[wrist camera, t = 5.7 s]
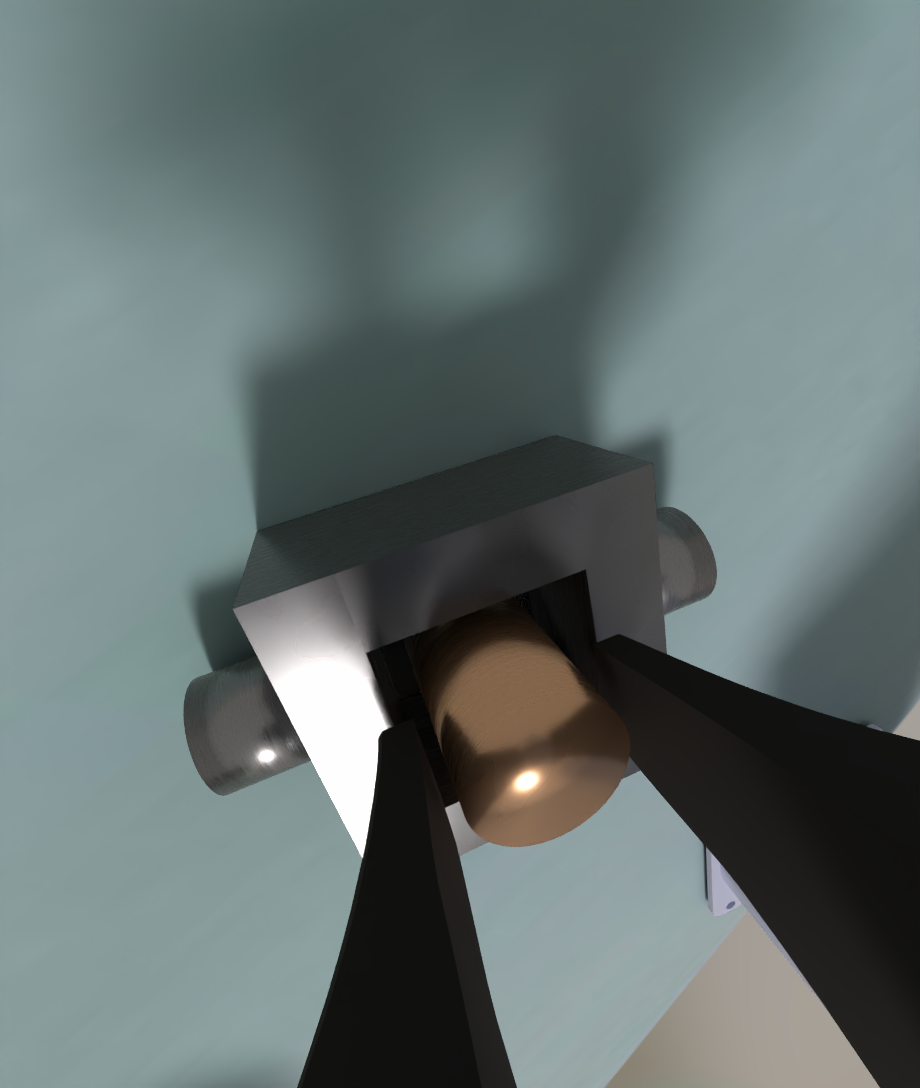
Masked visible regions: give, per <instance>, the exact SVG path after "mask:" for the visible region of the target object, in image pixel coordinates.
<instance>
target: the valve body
mask: <svg viewBox="0 0 920 1088" xmlns="http://www.w3.org/2000/svg"><path fill="white" fill-rule="evenodd" d="M716 578H717V570H716V562H715V558H714V554H713V551H712V549H711V546H710V544H709V542H708V540H707V538H706V536H705V535H704V533H703V532H702V530H701V529H700V527H699V526H698V525H697V524H696V523H695V522H694V521H693V520H692V519H691V518H690V517H689V516H688V515H687V514H685V513H684V512H682V511H680V510H678V509H676V508H673V507H662V508H659V509H656V498H655V484H654V470H653V463H649V462H646V461H643V460H639V459H636V458H632V457H629V456H626V455H622V454H619V453H615V452H612V451H608V450H605V449H602V448H598V447H595V446H591V445H588V444H584V443H581V442H578V441H574V440H571V439H567V438H564V437H561V436H557V435H555V436H552V437H549V438H546V439H543V440H540V441H537V442H534V443H531V444H527V445H524V446H521V447H518V448H515V449H512V450H509V451H506V452H503V453H499V454H496V455H493V456H490V457H487V458H484V459H481V460H478V461H475V462H472V463H468V464H465V465H462V466H459V467H456V468H453V469H450V470H447V471H444V472H440V473H437V474H434V475H431V476H428V477H425V478H422V479H419V480H416V481H412V482H409V483H406V484H403V485H400V486H397V487H394V488H391V489H388V490H384V491H381V492H378V493H375V494H372V495H369V496H366V497H363V498H360V499H357V500H353V501H350V502H347V503H344V504H341V505H338V506H335V507H332V508H329V509H325V510H322V511H319V512H316V513H313V514H310V515H307V516H304V517H301V518H297V519H294V520H291V521H288V522H285V523H282V524H279V525H276V526H273V527H270V528H266V529H263V530H260V531H257V533H256V536H255V539H254V542H253V545H252V549H251V552H250V555H249V558H248V562H247V565H246V568H245V571H244V574H243V578H242V581H241V584H240V587H239V591H238V594H237V597H236V600H235V604H234V607H233V611H234V613H235V614H236V616H237V618H238V620H239V622H240V624H241V626H242V628H243V630H244V632H245V634H246V636H247V637H248V639H249V641H250V643H251V645H252V647H253V649H254V651H255V653H256V655H257V656H255V657H252V658H249V659H246V660H244V661H241V662H238V663H235V664H233V665H230V666H227V667H225V668H222V669H219V670H216V671H214V672H211V673H208V674H205V675H203V676H200V677H197V678H195V679H194V680H193V681H192V682H191V683H190V684H189V686H188V688H187V691H186V695H185V700H184V726H185V734H186V739H187V743H188V747H189V751H190V753H191V756H192V759H193V762H194V764H195V767H196V769H197V771H198V773H199V774H200V776H201V778H202V779H203V781H204V782H205V783H206V785H207V786H208V787H209V788H210V789H211V790H212V791H213V792H215V793H216V794H218V795H222V796H224V795H228V794H231V793H233V792H236V791H238V790H240V789H243V788H245V787H248V786H250V785H253V784H255V783H257V782H260V781H262V780H265V779H267V778H270V777H272V776H274V775H277V774H279V773H282V772H284V771H287V770H289V769H291V768H294V767H296V766H299V765H301V764H304V763H306V762H308V761H311V760H312V762H313V764H314V766H315V768H316V770H317V772H318V773H319V775H320V777H321V779H322V781H323V783H324V785H325V787H326V789H327V791H328V793H329V795H330V796H331V798H332V800H333V802H334V804H335V806H336V808H337V810H338V812H339V814H340V816H341V818H342V819H343V821H344V823H345V825H346V827H347V829H348V831H349V833H350V835H351V837H352V839H353V841H354V842H355V844H356V846H357V848H358V850H359V852H360V854H361V856H362V858H363V854H364V849H365V844H366V838H367V832H368V826H369V820H370V814H371V808H372V802H373V795H374V787H375V779H376V770H377V757H378V737H379V735H380V734H381V732H382V731H383V730H386V729H388V728H391V727H393V726H395V725H398V724H400V723H403V722H405V721H408V720H410V719H413V722H414V724H415V727H416V730H417V732H418V735H419V738H420V740H421V743H422V746H423V748H424V751H425V753H426V756H427V759H428V761H429V764H430V767H431V769H432V772H433V775H434V777H435V780H436V783H437V785H438V788H439V791H440V794H441V797H442V800H443V803H444V806H445V809H446V812H447V816H448V819H449V822H450V825H451V828H452V831H453V834H454V838H455V841H456V844H457V848H458V853H459V856H460V855H462V854H464V853H466V852H468V851H471V850H473V849H475V848H477V847H479V846H481V845H483V844H485V843H488V842H489V841H486V840H484V839H483V838H481V837H480V836H478V835H477V834H476V833H475V832H474V831H473V830H472V829H471V828H470V826H469V825H468V823H467V821H466V819H465V817H464V814H463V811H462V808H461V805H460V802H459V800H458V797H457V794H456V791H455V788H454V785H453V782H452V779H451V777H450V774H449V771H448V768H447V765H446V762H445V759H444V756H443V754H442V751H441V748H440V745H439V742H438V739H437V736H436V733H435V731H434V728H433V725H432V722H431V719H430V716H429V713H428V710H427V707H426V705H425V702H424V699H423V696H422V693H418V694H416V695H413V696H411V697H408V698H406V699H403V700H401V701H400V700H399V697H398V695H397V692H396V689H395V687H394V684H393V682H392V679H391V676H390V674H389V671H388V669H387V666H386V663H385V661H384V658H383V656H382V653H381V650H380V647H382V646H385V645H388V644H390V643H393V642H396V641H398V640H401V639H404V638H406V637H409V636H411V635H414V634H417V633H419V632H422V631H425V630H427V629H430V628H432V627H435V626H438V625H440V624H443V623H446V622H448V621H451V620H454V619H456V618H459V617H461V616H464V615H467V614H469V613H472V612H475V611H477V610H480V609H482V608H485V607H488V606H490V605H493V604H496V603H498V602H501V601H504V600H506V599H509V598H511V597H514V596H517V595H519V594H522V593H525V592H527V594H528V598H529V603H530V608H531V613H532V617H533V619H534V620H535V621H536V622H537V624H538V625H539V626H540V627H541V628H542V629H543V630H544V631H545V633H546V634H547V635H548V636H549V637H550V638H551V639H552V641H553V642H554V643H555V644H556V645H557V646H558V647H559V649H560V650H561V651H562V652H563V653H564V654H565V655H566V656H567V658H568V659H569V660H570V661H571V662H572V663H573V664H574V666H575V667H576V668H577V669H578V670H579V671H580V672H581V673H582V675H583V676H584V677H585V678H586V679H587V680H588V681H589V683H590V684H591V685H592V686H593V687H594V688H595V689H596V691H597V692H598V693H599V694H600V689H599V683H598V676H597V670H596V663H595V656H594V650H593V644H595V643H597V642H600V641H602V640H604V639H607V638H609V637H612V636H614V635H617V634H621V635H623V636H626V637H628V638H631V639H633V640H635V641H638V642H640V643H642V644H645V645H647V646H649V647H651V648H654V649H656V650H658V651H661V652H663V653H665V654H667V651H666V637H665V623H664V615H666V614H668V613H670V612H673V611H675V610H678V609H680V608H683V607H685V606H687V605H690V604H692V603H695V602H697V601H700V600H702V599H704V598H706V597H708V596H709V595H710V594H711V593H712V591H713V589H714V587H715V584H716ZM638 771H640V769H639V768H638V767H637V765H636V764H635V763H634V762H633V760H632V759H631V758H630V756H629V760H628V764H627V768H626V770H625V773H624V775H623V777H622V779H623V778H625V777H627V776H629V775H632V774H634V773H636V772H638Z"/></svg>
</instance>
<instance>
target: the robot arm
mask: <svg viewBox="0 0 920 1088" xmlns="http://www.w3.org/2000/svg"><path fill="white" fill-rule="evenodd" d="M593 650H594V656H595V663H596V670H597V676H598V683H599V689H600V695H601V696H602V697H603V698H604V700H605V701H606V702H607V703H608V704H609V705H610V706H611V708H612V709H613V710H614V711H615V712H616V713H617V714H618V715H619V717H620V718H621V719H622V720H623V722H624V724H625V725H626V728H627V731H628V733H629V739H630V754H629V756H630V758H631V759H632V760H633V762H634V763H635V764H636V765H637V767H638V768H639V769H640V770H641V771H642V773H643V774H644V775H645V776H646V777H647V778H648V780H649V781H650V782H651V783H652V784H653V786H654V787H655V788H656V789H657V790H658V791H659V793H660V794H661V795H662V796H663V797H664V798H665V800H666V801H667V802H668V803H669V804H670V805H671V807H672V808H673V809H674V810H675V811H676V812H677V814H678V815H679V816H680V817H681V818H682V819H683V821H684V822H685V823H686V824H687V825H688V826H689V828H690V829H691V830H692V831H693V832H694V833H695V835H696V836H697V837H698V838H699V839H700V840H701V842H702V843H703V844H704V845H705V846H706V859H707V886H708V908H709V910H710V911H711V912H712V914H713V915H714V916H721V915H723V914H725V913H727V912H729V911H731V910H732V909H734V908H736V907H738V906H740V905H741V904H743V906H744V907H745V908H746V909H747V911H748V912H749V913H750V914H751V916H752V917H753V918H754V919H755V921H756V922H757V923H758V924H759V926H760V927H761V928H762V929H763V931H764V932H765V933H766V934H767V936H768V937H769V938H770V939H771V941H772V942H773V943H774V944H775V946H776V947H777V948H778V949H779V951H780V952H781V953H782V954H783V955H784V957H785V958H786V959H787V961H788V962H789V963H790V964H791V966H792V967H793V968H794V969H795V971H796V972H797V973H798V974H799V975H800V977H801V978H802V979H803V981H804V982H805V983H806V984H807V986H808V987H809V988H810V989H811V991H812V992H813V993H814V994H815V996H816V997H817V998H818V999H819V1001H820V1002H821V1003H822V1004H823V1006H824V1007H825V1008H826V1009H827V1011H828V1012H829V1013H830V1015H831V1016H832V1017H833V1019H834V1020H835V1022H836V1023H837V1025H838V1026H839V1028H840V1029H841V1031H842V1032H843V1034H844V1035H845V1037H846V1038H847V1040H848V1041H849V1042H850V1044H851V1046H852V1047H853V1048H854V1050H855V1051H856V1053H857V1054H858V1056H859V1057H860V1059H861V1060H862V1062H863V1063H864V1065H865V1066H866V1068H867V1069H868V1070H869V1072H870V1074H871V1075H872V1076H873V1078H874V1079H875V1081H876V1082H877V1084H878V1085H879V1087H880V1088H920V741H919V740H915V739H911V738H907V737H903V736H899V735H896V734H892V733H888V732H884V731H883V730H882V729H881V728H879V727H878V726H876V725H874V724H870V725H867V726H863V725H860V724H856V723H853V722H850V721H846V720H843V719H839V718H836V717H833V716H829V715H826V714H823V713H820V712H816V711H813V710H810V709H807V708H804V707H801V706H798V705H795V704H792V703H790V702H787V701H784V700H781V699H778V698H775V697H773V696H770V695H767V694H764V693H761V692H759V691H756V690H753V689H751V688H748V687H745V686H743V685H740V684H737V683H735V682H732V681H730V680H727V679H725V678H722V677H720V676H717V675H715V674H712V673H710V672H707V671H705V670H703V669H700V668H698V667H695V666H693V665H691V664H688V663H686V662H684V661H681V660H679V659H677V658H674V657H672V656H670V655H667V654H665V653H663V652H661V651H658V650H656V649H654V648H651V647H649V646H647V645H645V644H642V643H640V642H638V641H635V640H633V639H631V638H628V637H626V636H623V635H621V634H617V635H614V636H612V637H609V638H607V639H604V640H602V641H600V642H597V643H595V644H593ZM297 1088H517V1086H516V1083H515V1080H514V1076H513V1073H512V1069H511V1066H510V1063H509V1059H508V1056H507V1053H506V1049H505V1046H504V1042H503V1039H502V1036H501V1032H500V1029H499V1026H498V1022H497V1019H496V1015H495V1011H494V1007H493V1003H492V999H491V995H490V991H489V987H488V983H487V979H486V974H485V970H484V965H483V961H482V956H481V952H480V947H479V943H478V938H477V934H476V929H475V925H474V920H473V916H472V911H471V907H470V902H469V898H468V893H467V889H466V884H465V880H464V875H463V871H462V866H461V862H460V857H459V853H458V848H457V844H456V841H455V838H454V834H453V831H452V828H451V825H450V822H449V819H448V816H447V812H446V809H445V806H444V803H443V800H442V797H441V794H440V791H439V788H438V785H437V783H436V780H435V777H434V775H433V772H432V769H431V767H430V764H429V761H428V759H427V756H426V753H425V751H424V748H423V746H422V743H421V740H420V738H419V735H418V732H417V730H416V727H415V724H414V722H413V719H410V720H408V721H405V722H403V723H400V724H398V725H395V726H393V727H391V728H388V729H386V730H383V731H382V732H381V734H380V735H379V737H378V757H377V770H376V779H375V787H374V795H373V802H372V808H371V814H370V820H369V826H368V832H367V838H366V844H365V849H364V854H363V859H362V863H361V868H360V872H359V877H358V881H357V885H356V890H355V894H354V899H353V903H352V908H351V912H350V916H349V920H348V924H347V927H346V931H345V935H344V939H343V943H342V946H341V950H340V954H339V957H338V961H337V964H336V967H335V971H334V974H333V978H332V981H331V985H330V988H329V991H328V995H327V998H326V1001H325V1004H324V1008H323V1011H322V1014H321V1017H320V1020H319V1023H318V1026H317V1029H316V1032H315V1035H314V1038H313V1041H312V1045H311V1048H310V1051H309V1054H308V1057H307V1060H306V1063H305V1066H304V1069H303V1072H302V1075H301V1078H300V1081H299V1084H298V1086H297Z"/></svg>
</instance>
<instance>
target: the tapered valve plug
mask: <svg viewBox="0 0 920 1088" xmlns="http://www.w3.org/2000/svg"><path fill="white" fill-rule="evenodd" d="M403 641H404V644H405V647H406V650H407V653H408V656H409V659H410V661H411V664H412V667H413V670H414V673H415V676H416V679H417V682H418V684H419V687H420V690H421V693H422V696H423V699H424V702H425V705H426V707H427V710H428V713H429V716H430V719H431V722H432V725H433V728H434V731H435V733H436V736H437V739H438V742H439V745H440V748H441V751H442V754H443V756H444V759H445V762H446V765H447V768H448V771H449V774H450V777H451V779H452V782H453V785H454V788H455V791H456V794H457V797H458V800H459V802H460V805H461V808H462V811H463V814H464V817H465V819H466V821H467V823H468V825H469V826H470V828H471V829H472V830H473V831H474V832H475V833H476V834H477V835H478V836H480V837H481V838H483V839H484V840H486V841H489V842H491V843H493V844H497V845H501V846H509V847H522V846H530V845H535V844H540V843H543V842H546V841H549V840H552V839H555V838H557V837H559V836H562V835H564V834H565V833H567V832H569V831H571V830H573V829H574V828H576V827H578V826H579V825H581V824H582V823H583V822H585V821H586V820H587V819H589V818H590V817H591V816H592V815H593V814H595V813H596V812H597V811H598V810H599V809H600V808H601V807H602V806H603V805H604V804H605V803H606V801H607V800H608V799H609V798H610V797H611V795H612V794H613V792H614V791H615V789H616V788H617V787H618V785H619V783H620V781H621V779H622V777H623V775H624V773H625V770H626V768H627V764H628V760H629V754H630V739H629V733H628V731H627V728H626V725H625V724H624V722H623V720H622V719H621V718H620V717H619V715H618V714H617V713H616V712H615V711H614V710H613V709H612V708H611V706H610V705H609V704H608V703H607V702H606V701H605V700H604V698H603V697H602V696H601V695H600V694H599V693H598V692H597V691H596V689H595V688H594V687H593V686H592V685H591V684H590V683H589V681H588V680H587V679H586V678H585V677H584V676H583V675H582V673H581V672H580V671H579V670H578V669H577V668H576V667H575V666H574V664H573V663H572V662H571V661H570V660H569V659H568V658H567V656H566V655H565V654H564V653H563V652H562V651H561V650H560V649H559V647H558V646H557V645H556V644H555V643H554V642H553V641H552V639H551V638H550V637H549V636H548V635H547V634H546V633H545V631H544V630H543V629H542V628H541V627H540V626H539V625H538V624H537V622H536V621H535V620H534V619H533V618H532V617H531V616H530V614H529V613H528V612H527V611H526V610H525V609H524V608H523V607H522V605H521V604H520V603H519V602H518V601H517V600H516V599H515V597H511V598H509V599H506V600H504V601H501V602H498V603H496V604H493V605H490V606H488V607H485V608H482V609H480V610H477V611H475V612H472V613H469V614H467V615H464V616H461V617H459V618H456V619H454V620H451V621H448V622H446V623H443V624H440V625H438V626H435V627H432V628H430V629H427V630H425V631H422V632H419V633H417V634H414V635H411V636H409V637H406V638H404V639H403Z"/></svg>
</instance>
